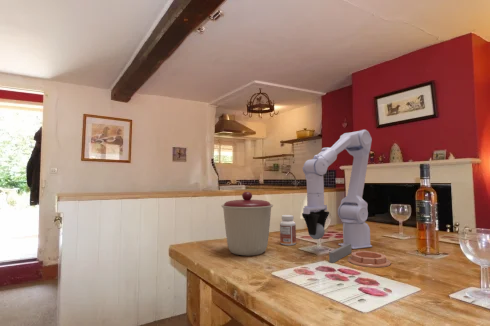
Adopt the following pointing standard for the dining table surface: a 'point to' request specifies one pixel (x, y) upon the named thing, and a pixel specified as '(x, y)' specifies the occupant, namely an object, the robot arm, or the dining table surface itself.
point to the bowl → (368, 259)
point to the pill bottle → (287, 230)
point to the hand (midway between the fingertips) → (316, 233)
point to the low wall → (340, 253)
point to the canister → (247, 225)
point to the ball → (318, 232)
